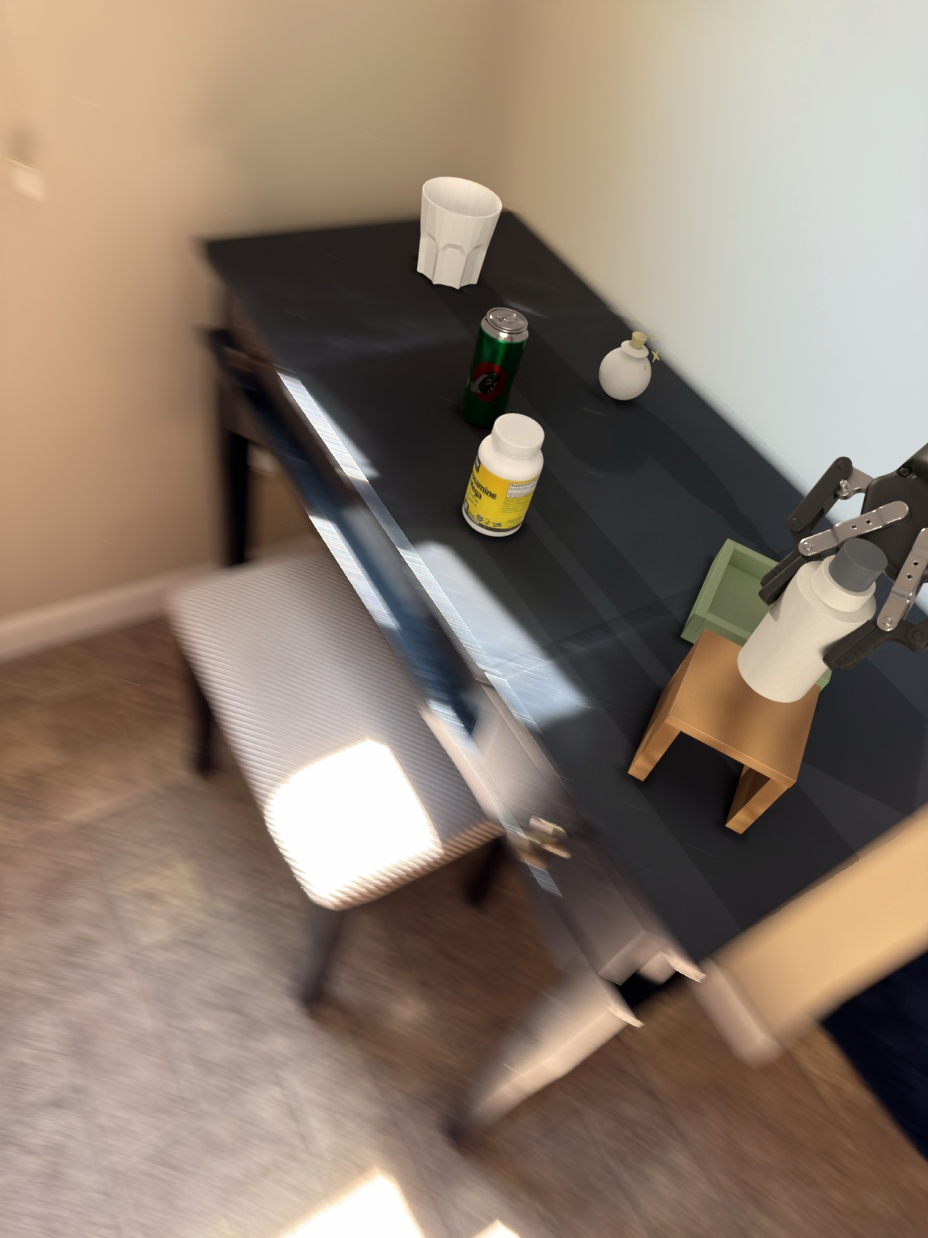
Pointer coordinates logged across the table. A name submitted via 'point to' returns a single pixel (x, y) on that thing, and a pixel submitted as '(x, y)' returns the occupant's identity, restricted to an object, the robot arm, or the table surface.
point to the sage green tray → (733, 598)
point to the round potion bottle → (627, 368)
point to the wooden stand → (730, 726)
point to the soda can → (494, 366)
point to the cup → (455, 229)
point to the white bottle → (811, 621)
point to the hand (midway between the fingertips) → (795, 631)
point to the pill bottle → (504, 476)
